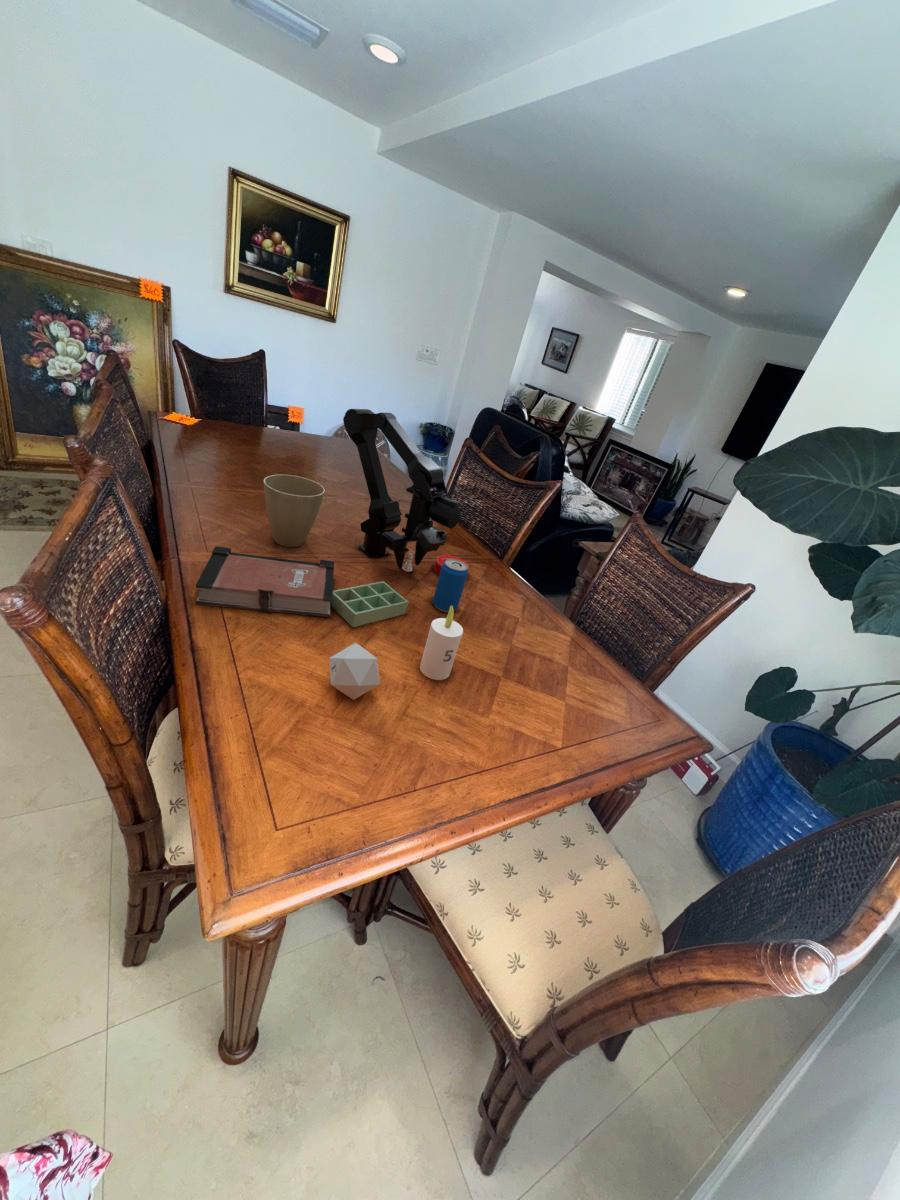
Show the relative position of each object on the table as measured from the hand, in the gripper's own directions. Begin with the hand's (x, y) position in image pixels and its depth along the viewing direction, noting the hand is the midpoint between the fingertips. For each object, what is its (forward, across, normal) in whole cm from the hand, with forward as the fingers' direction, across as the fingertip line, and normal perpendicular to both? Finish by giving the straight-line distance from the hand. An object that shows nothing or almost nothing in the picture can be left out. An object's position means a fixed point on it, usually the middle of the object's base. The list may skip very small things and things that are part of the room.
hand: (408, 566), depth 132 cm
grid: (+1, -22, -13) cm, 26 cm away
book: (+1, -39, +1) cm, 39 cm away
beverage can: (+1, -3, -19) cm, 19 cm away
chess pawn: (+1, 0, 0) cm, 1 cm away
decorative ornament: (+1, +12, -5) cm, 13 cm away
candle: (+1, -22, -37) cm, 43 cm away
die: (+1, -40, -34) cm, 53 cm away
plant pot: (+1, -23, +23) cm, 33 cm away
